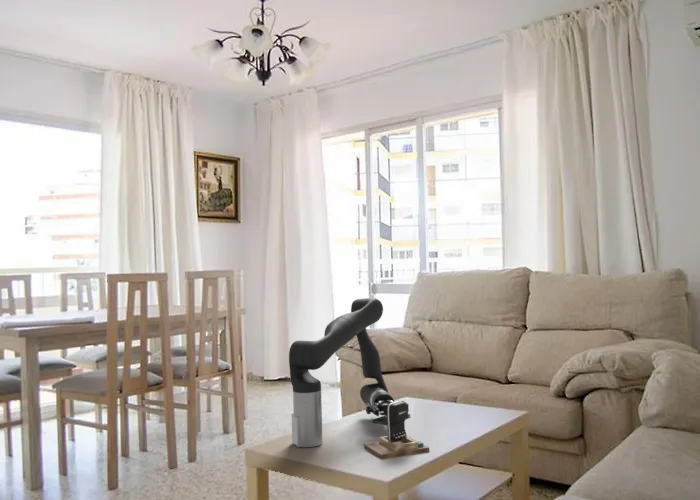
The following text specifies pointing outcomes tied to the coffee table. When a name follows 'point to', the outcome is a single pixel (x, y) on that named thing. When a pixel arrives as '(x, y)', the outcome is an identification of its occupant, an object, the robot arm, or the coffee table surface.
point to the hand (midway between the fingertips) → (390, 412)
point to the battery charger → (396, 420)
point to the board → (395, 447)
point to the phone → (382, 420)
